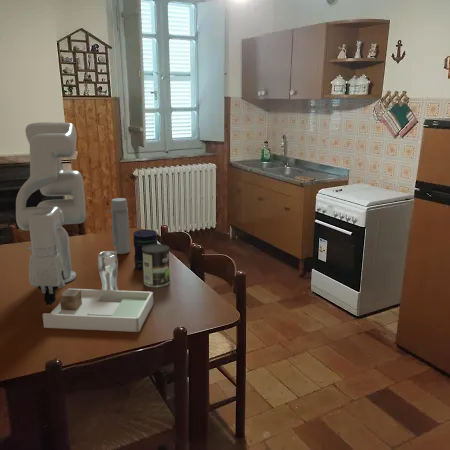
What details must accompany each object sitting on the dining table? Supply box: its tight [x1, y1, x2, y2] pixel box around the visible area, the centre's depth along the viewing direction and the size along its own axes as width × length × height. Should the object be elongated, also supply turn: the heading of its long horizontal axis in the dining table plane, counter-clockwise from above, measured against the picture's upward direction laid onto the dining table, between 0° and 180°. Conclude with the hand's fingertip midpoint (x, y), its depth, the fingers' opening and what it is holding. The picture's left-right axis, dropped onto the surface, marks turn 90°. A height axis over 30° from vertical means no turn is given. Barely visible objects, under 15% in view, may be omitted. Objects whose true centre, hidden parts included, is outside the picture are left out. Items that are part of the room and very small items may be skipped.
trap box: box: [42, 287, 155, 333], centre depth 146 cm, size 30×20×4 cm, turn 86°
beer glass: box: [97, 250, 119, 290], centre depth 161 cm, size 7×7×15 cm
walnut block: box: [59, 288, 82, 311], centre depth 146 cm, size 5×5×5 cm
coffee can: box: [142, 243, 171, 288], centre depth 171 cm, size 10×10×14 cm
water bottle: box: [110, 197, 131, 255], centre depth 202 cm, size 9×8×25 cm
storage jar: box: [132, 229, 159, 272], centre depth 187 cm, size 10×10×15 cm
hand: (50, 303), depth 147 cm, fingers closed
